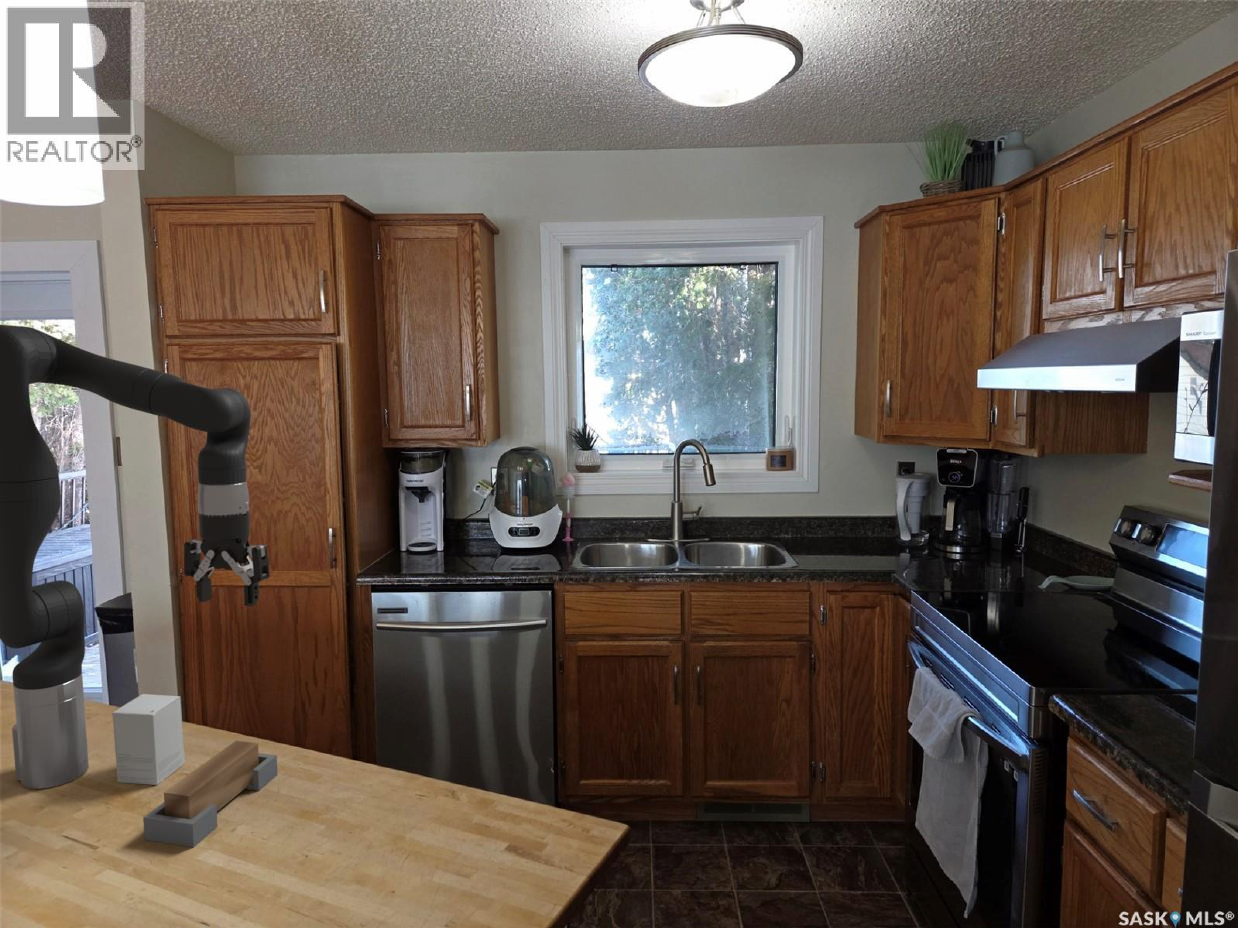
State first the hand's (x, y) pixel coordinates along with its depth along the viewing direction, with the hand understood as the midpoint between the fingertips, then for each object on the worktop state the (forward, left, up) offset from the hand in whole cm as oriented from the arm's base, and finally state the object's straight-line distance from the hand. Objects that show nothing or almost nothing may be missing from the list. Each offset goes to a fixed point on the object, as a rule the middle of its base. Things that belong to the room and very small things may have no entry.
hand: (228, 602), depth 127 cm
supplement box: (-13, -4, -30) cm, 33 cm away
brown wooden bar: (+4, -10, -30) cm, 31 cm away
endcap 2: (+4, -3, -30) cm, 30 cm away
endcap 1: (+4, -18, -30) cm, 35 cm away
